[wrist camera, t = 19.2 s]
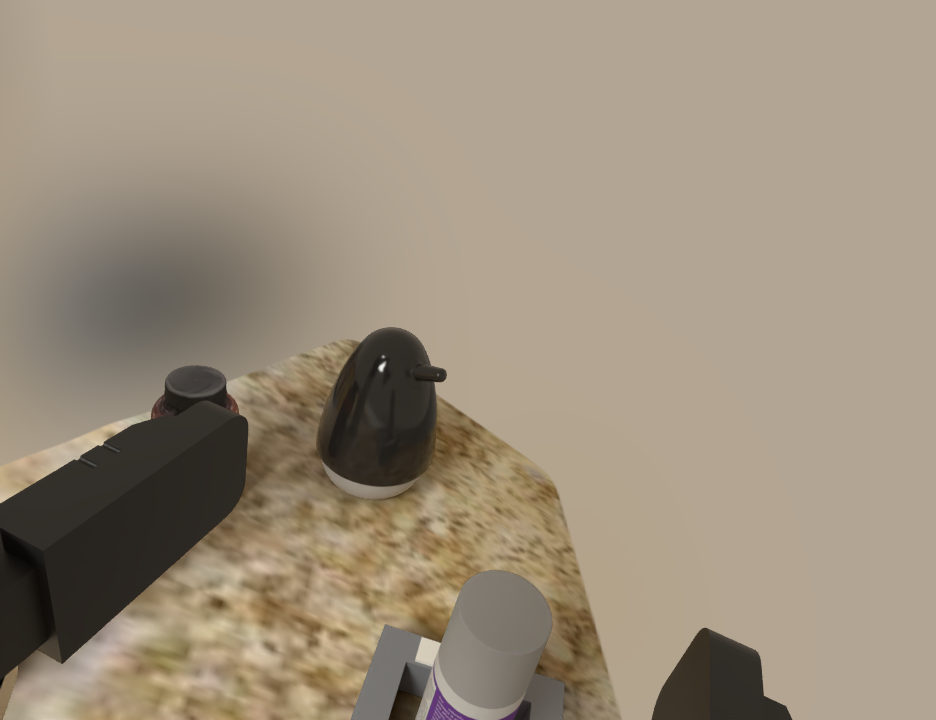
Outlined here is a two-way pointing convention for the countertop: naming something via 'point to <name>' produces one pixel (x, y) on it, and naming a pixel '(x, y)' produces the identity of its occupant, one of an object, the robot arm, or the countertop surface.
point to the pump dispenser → (381, 417)
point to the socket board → (408, 669)
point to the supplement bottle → (193, 391)
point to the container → (488, 650)
